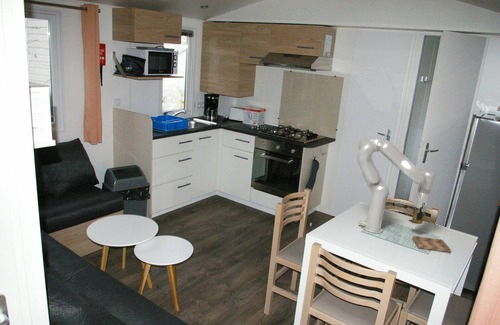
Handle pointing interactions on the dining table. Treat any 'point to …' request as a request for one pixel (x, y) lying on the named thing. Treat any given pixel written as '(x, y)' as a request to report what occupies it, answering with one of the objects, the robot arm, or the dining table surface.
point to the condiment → (416, 221)
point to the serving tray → (431, 244)
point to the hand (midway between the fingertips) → (417, 216)
